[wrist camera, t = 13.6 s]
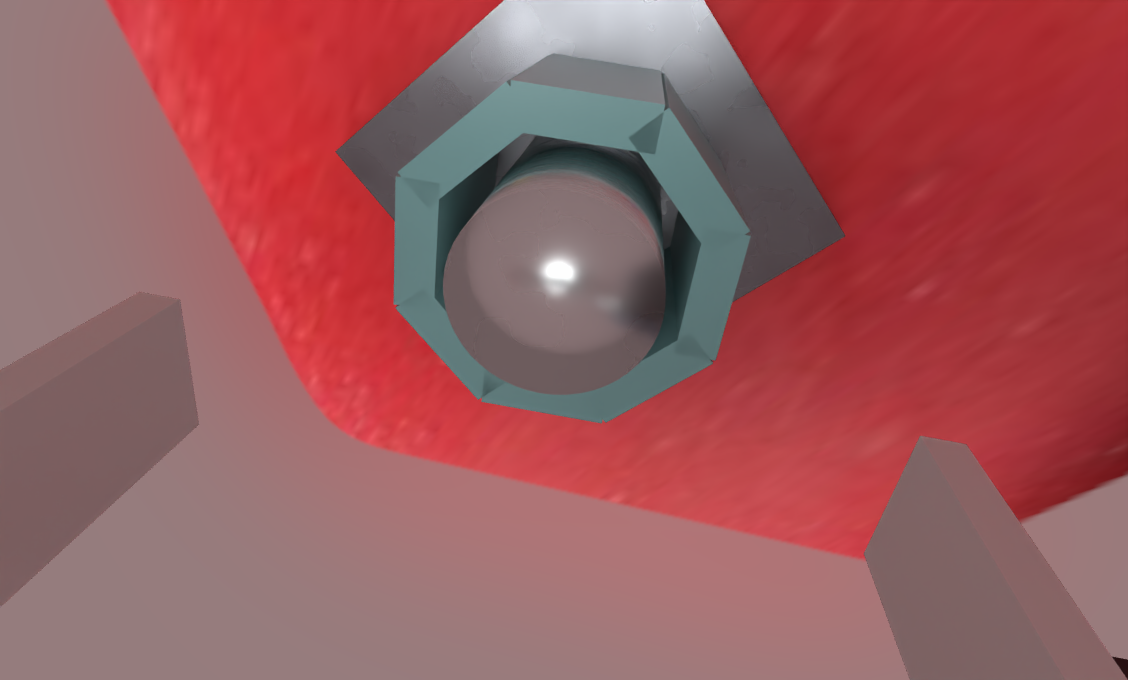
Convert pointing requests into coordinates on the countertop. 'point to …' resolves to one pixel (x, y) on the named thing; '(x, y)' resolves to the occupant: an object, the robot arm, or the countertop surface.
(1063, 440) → the countertop surface
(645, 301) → the domed lamp fixture
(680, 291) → the collar
